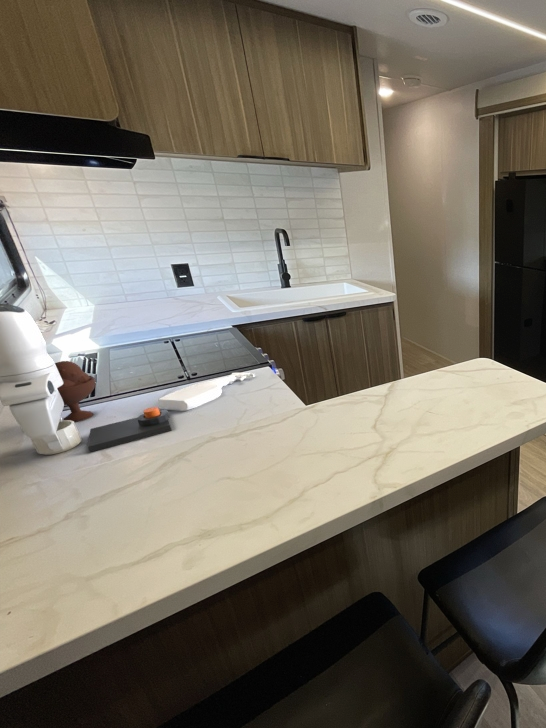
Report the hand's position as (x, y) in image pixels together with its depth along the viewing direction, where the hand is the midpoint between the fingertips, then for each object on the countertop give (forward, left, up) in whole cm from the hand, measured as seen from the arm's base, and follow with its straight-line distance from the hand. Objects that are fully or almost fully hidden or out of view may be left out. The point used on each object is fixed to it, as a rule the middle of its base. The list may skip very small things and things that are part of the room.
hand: (58, 440), depth 88 cm
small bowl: (0, 0, -2) cm, 2 cm away
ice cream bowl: (+2, +18, -2) cm, 18 cm away
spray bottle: (+30, +13, -2) cm, 33 cm away
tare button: (+16, -2, +1) cm, 17 cm away
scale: (+12, -2, -2) cm, 12 cm away
